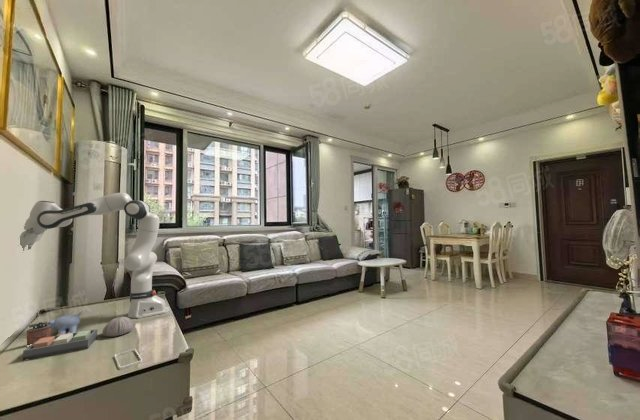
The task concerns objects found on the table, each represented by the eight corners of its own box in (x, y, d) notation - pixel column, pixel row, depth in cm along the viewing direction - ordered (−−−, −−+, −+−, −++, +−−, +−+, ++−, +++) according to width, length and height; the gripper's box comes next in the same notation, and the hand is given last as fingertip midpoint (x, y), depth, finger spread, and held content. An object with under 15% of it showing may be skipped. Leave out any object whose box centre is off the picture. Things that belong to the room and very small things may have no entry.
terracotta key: (54, 340, 122) (54, 336, 122) (47, 346, 116) (47, 341, 116) (41, 342, 120) (41, 338, 120) (33, 349, 114) (33, 344, 114)
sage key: (90, 334, 128) (90, 330, 128) (85, 339, 122) (85, 335, 122) (78, 336, 126) (78, 332, 126) (72, 342, 120) (72, 337, 120)
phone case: (142, 363, 105) (135, 351, 116) (142, 360, 105) (135, 348, 116) (119, 371, 100) (114, 357, 111) (119, 367, 100) (114, 354, 111)
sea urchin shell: (117, 339, 129) (117, 322, 129) (94, 338, 131) (95, 321, 132) (140, 328, 142) (140, 313, 142) (120, 327, 144) (120, 312, 145)
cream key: (73, 337, 125) (73, 333, 125) (67, 343, 119) (67, 338, 119) (60, 339, 123) (60, 335, 123) (53, 345, 117) (53, 340, 117)
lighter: (50, 339, 131) (50, 319, 131) (51, 341, 129) (51, 320, 129) (26, 345, 125) (26, 324, 125) (26, 347, 122) (27, 325, 123)
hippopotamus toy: (45, 333, 140) (45, 315, 140) (83, 326, 149) (83, 308, 149) (40, 340, 131) (41, 320, 132) (81, 331, 140) (81, 313, 141)
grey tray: (97, 337, 132) (97, 328, 132) (87, 348, 119) (88, 338, 120) (39, 347, 122) (39, 337, 123) (23, 360, 110) (23, 350, 110)
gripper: (34, 231, 143) (23, 255, 141) (48, 227, 161) (38, 248, 159) (19, 227, 140) (7, 252, 138) (35, 224, 157) (24, 246, 156)
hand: (24, 250), depth 149 cm, fingers open, 8 cm apart
